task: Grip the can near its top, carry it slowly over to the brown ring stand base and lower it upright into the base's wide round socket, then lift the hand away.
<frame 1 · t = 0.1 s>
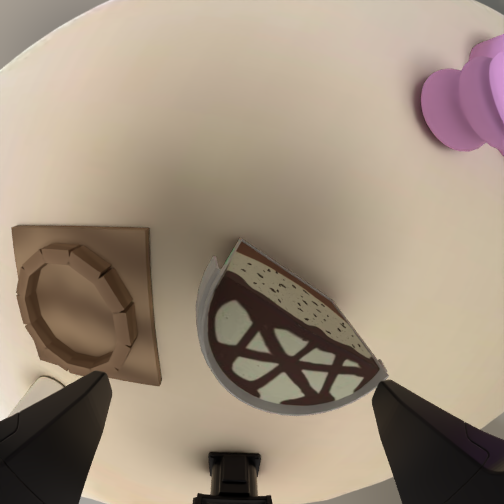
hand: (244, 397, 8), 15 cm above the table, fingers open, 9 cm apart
container set: (487, 104, 19), on the table
can: (57, 393, 26), on the table
brown ring stand base: (81, 305, 23), on the table
food container: (266, 298, 23), on the table
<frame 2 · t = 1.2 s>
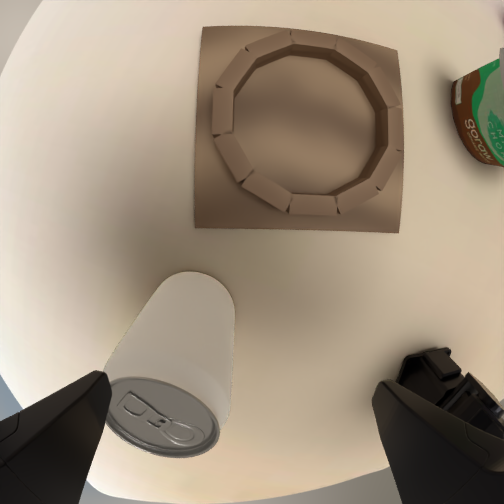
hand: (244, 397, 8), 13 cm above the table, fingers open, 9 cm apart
can: (194, 307, 22), on the table
brown ring stand base: (305, 123, 18), on the table
food container: (473, 137, 19), on the table
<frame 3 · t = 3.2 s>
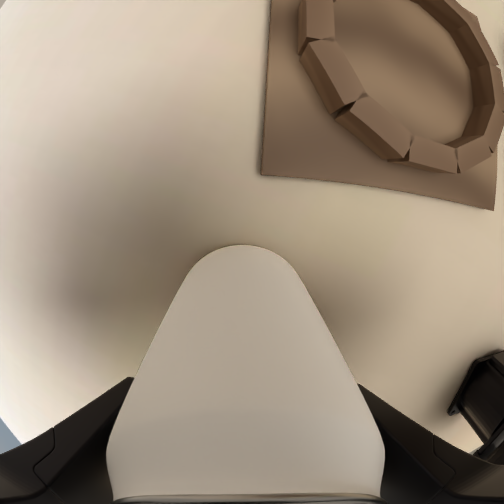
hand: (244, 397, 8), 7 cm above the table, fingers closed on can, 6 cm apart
can: (242, 301, 15), on the table, touching gripper
brown ring stand base: (401, 64, 11), on the table
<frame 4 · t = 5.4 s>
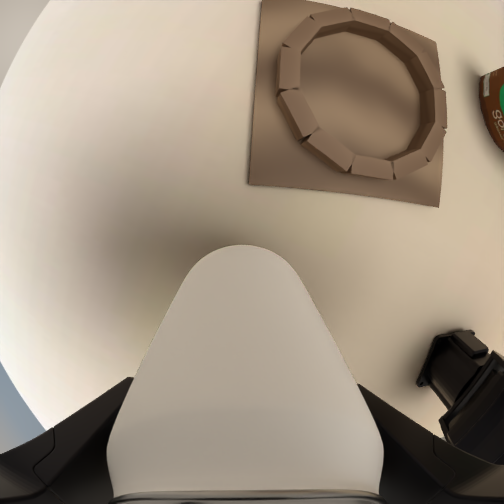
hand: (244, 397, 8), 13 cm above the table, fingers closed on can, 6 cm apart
can: (242, 301, 15), point 6 cm above the table, touching gripper
brown ring stand base: (358, 95, 17), on the table
food container: (497, 128, 18), on the table
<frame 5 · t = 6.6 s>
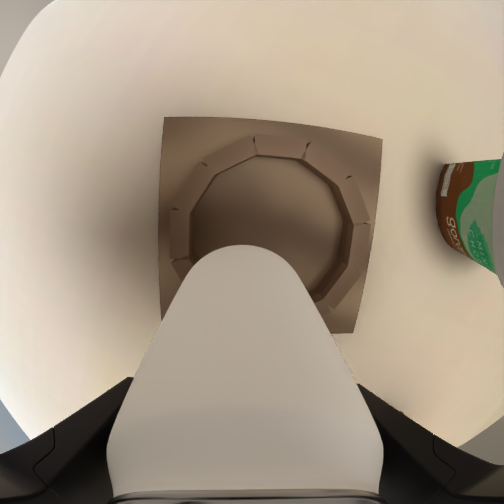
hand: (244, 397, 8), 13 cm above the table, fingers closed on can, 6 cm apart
can: (242, 301, 15), point 6 cm above the table, touching gripper
brown ring stand base: (268, 231, 20), on the table
food container: (455, 225, 20), on the table
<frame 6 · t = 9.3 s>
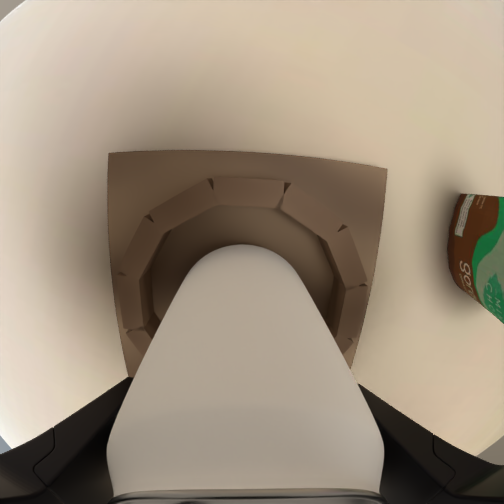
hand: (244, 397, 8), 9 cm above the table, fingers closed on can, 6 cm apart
can: (242, 300, 15), point 1 cm above the table, touching gripper
brown ring stand base: (241, 288, 16), on the table
food container: (468, 263, 17), on the table
when the fingers open (9 cm above the table, at t = 10.1 s): can stays where it is, resting on brown ring stand base.
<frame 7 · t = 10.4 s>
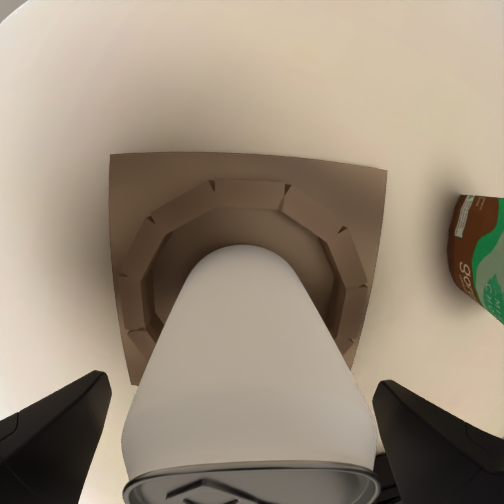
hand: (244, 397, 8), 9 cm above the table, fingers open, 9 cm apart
can: (242, 298, 16), point 1 cm above the table, touching brown ring stand base
brown ring stand base: (242, 289, 16), on the table
food container: (467, 264, 17), on the table
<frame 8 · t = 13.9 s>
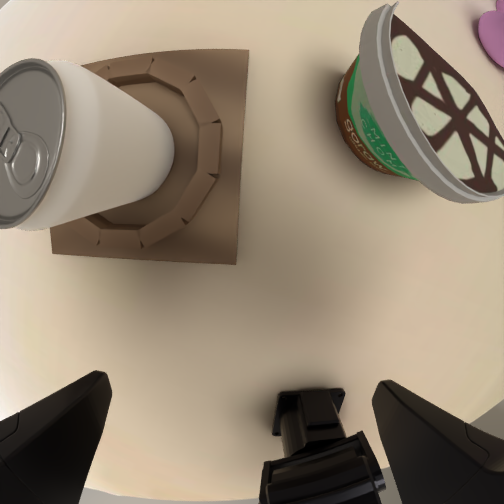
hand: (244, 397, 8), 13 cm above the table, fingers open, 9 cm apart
can: (132, 154, 17), point 1 cm above the table, touching brown ring stand base
brown ring stand base: (136, 152, 18), on the table
food container: (372, 141, 19), on the table
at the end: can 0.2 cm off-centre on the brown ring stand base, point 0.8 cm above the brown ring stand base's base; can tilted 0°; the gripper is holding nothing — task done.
